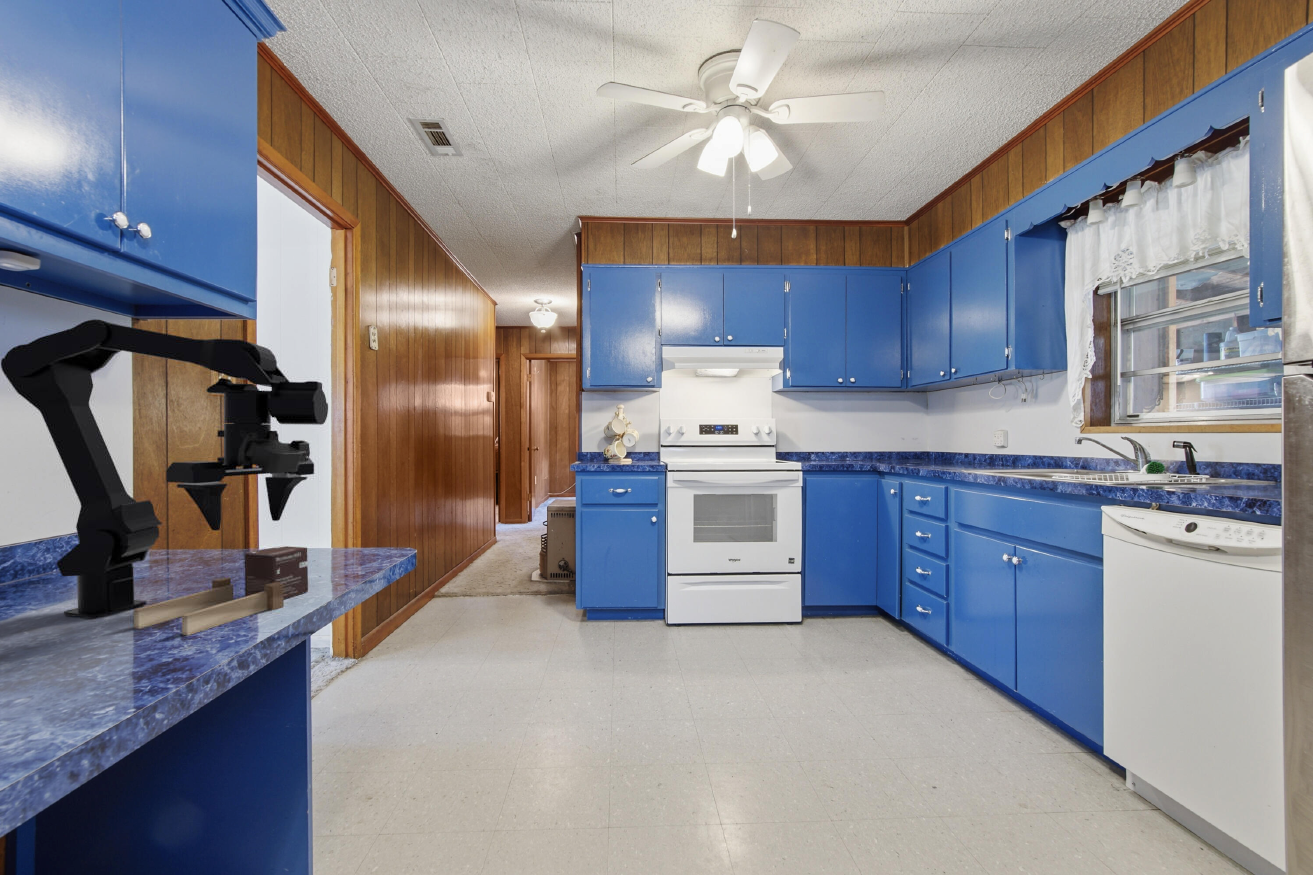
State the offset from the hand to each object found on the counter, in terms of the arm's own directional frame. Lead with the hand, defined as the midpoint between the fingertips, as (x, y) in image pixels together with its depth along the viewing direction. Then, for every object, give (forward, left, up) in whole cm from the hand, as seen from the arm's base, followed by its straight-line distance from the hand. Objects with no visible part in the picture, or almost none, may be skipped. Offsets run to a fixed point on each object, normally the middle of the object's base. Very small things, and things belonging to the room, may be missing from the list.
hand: (247, 525), depth 82 cm
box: (+2, +3, -12) cm, 13 cm away
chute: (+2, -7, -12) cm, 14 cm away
